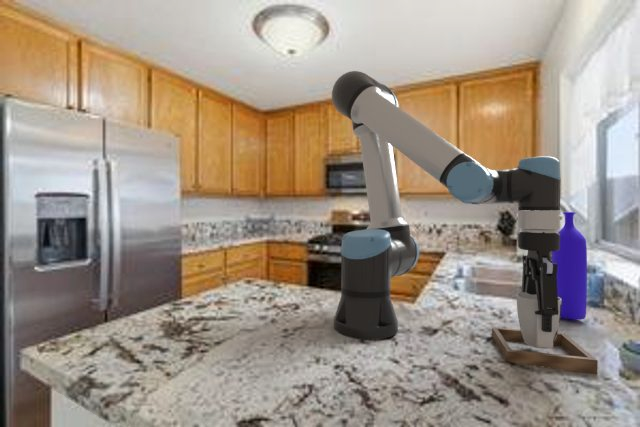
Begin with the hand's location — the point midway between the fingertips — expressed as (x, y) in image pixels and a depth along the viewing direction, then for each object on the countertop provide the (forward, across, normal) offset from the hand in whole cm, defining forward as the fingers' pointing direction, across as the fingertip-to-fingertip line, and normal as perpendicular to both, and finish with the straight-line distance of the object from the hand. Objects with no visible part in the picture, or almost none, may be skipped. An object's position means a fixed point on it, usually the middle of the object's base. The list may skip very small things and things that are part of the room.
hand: (537, 339), depth 74 cm
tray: (+3, 0, 0) cm, 3 cm away
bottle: (+3, +33, -18) cm, 37 cm away
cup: (+1, 0, 0) cm, 1 cm away
